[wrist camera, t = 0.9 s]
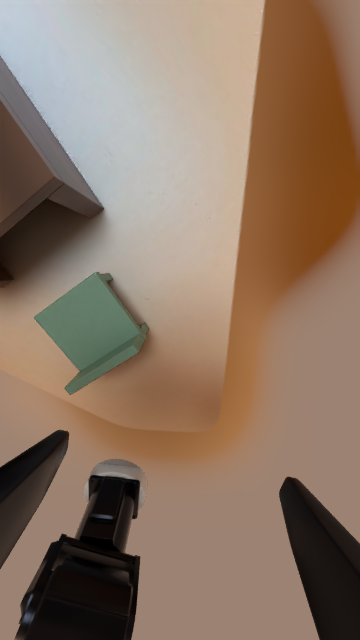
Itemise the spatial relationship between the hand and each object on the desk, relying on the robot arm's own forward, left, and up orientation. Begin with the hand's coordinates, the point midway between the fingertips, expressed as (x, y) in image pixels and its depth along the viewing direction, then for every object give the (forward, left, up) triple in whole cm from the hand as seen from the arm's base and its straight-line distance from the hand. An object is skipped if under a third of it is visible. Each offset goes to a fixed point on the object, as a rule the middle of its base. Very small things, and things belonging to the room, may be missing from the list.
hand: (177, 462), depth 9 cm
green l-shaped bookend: (+1, +8, -14) cm, 16 cm away
